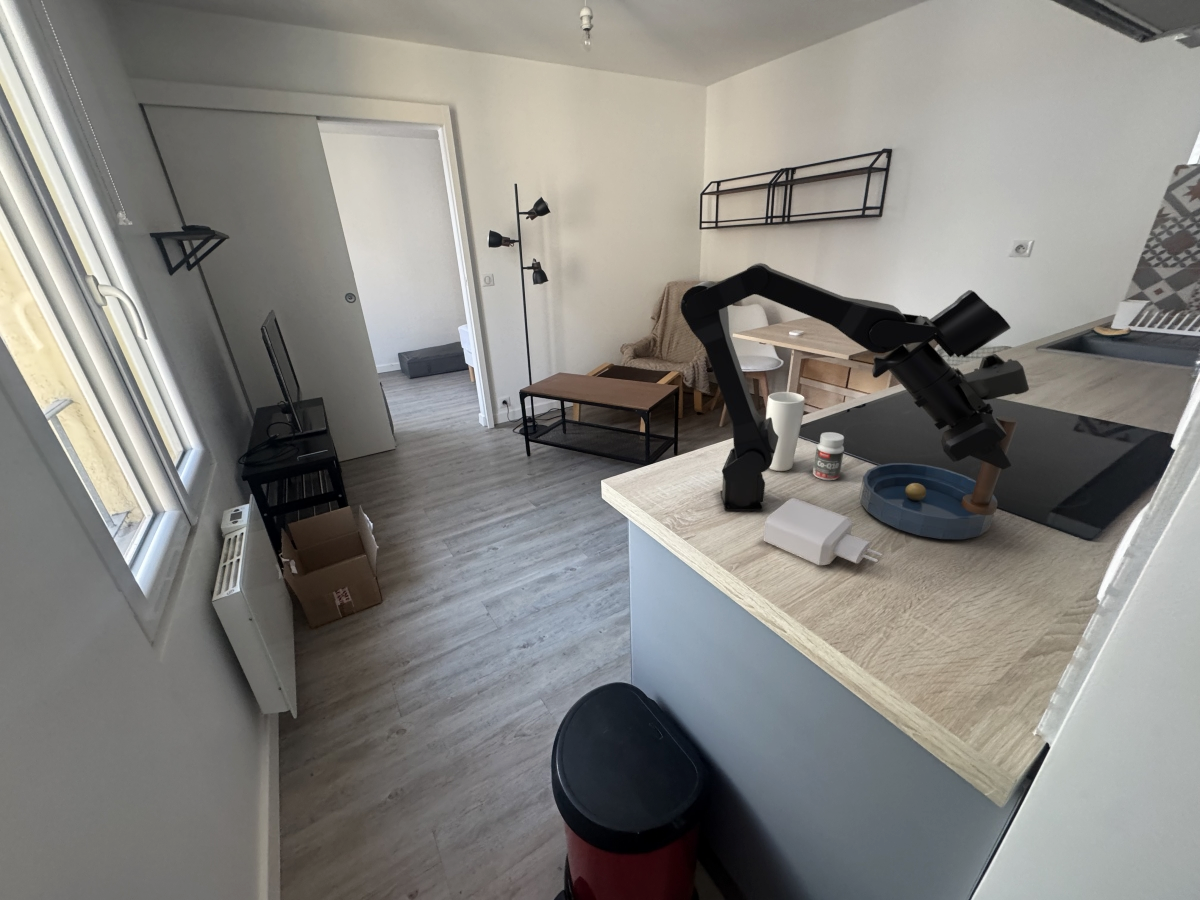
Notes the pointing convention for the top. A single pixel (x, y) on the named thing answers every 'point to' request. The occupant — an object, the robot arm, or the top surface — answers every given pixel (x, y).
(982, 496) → the stirring stick
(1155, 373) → the top surface
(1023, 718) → the top surface
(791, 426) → the drinking glass
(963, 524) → the bowl
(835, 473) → the pill bottle
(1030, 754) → the top surface
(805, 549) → the charger
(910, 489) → the bead
